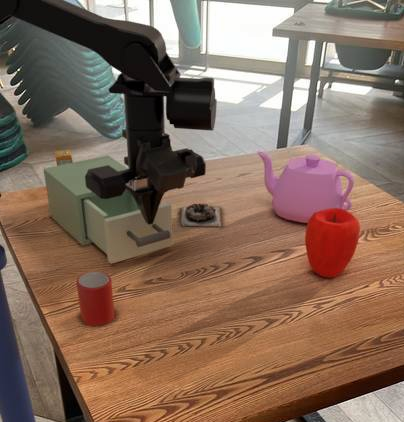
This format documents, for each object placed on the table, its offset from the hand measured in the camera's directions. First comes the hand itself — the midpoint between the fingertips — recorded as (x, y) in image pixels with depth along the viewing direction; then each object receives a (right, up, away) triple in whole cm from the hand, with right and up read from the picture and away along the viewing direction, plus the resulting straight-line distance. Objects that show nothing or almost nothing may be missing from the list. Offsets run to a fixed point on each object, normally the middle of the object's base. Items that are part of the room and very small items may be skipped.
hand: (149, 223), depth 94 cm
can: (-7, -16, -7) cm, 19 cm away
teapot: (+29, +7, +23) cm, 37 cm away
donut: (+9, +6, +21) cm, 23 cm away
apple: (+30, -7, +5) cm, 31 cm away
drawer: (-4, -2, +9) cm, 10 cm away
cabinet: (-12, +4, +18) cm, 22 cm away
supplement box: (-19, +11, +25) cm, 33 cm away
